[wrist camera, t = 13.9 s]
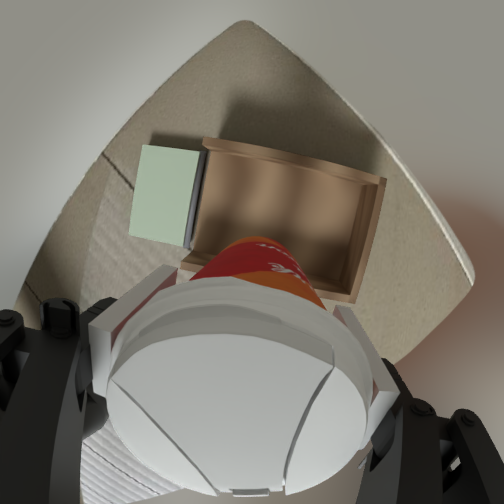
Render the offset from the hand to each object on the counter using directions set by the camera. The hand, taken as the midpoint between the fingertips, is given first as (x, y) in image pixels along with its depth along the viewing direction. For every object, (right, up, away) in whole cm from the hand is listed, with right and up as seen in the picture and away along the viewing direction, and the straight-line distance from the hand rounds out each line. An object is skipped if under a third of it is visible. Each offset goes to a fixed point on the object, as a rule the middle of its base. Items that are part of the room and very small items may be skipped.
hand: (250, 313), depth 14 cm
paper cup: (0, +1, +6) cm, 6 cm away
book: (-6, +9, +19) cm, 22 cm away
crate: (+3, +7, +20) cm, 21 cm away
